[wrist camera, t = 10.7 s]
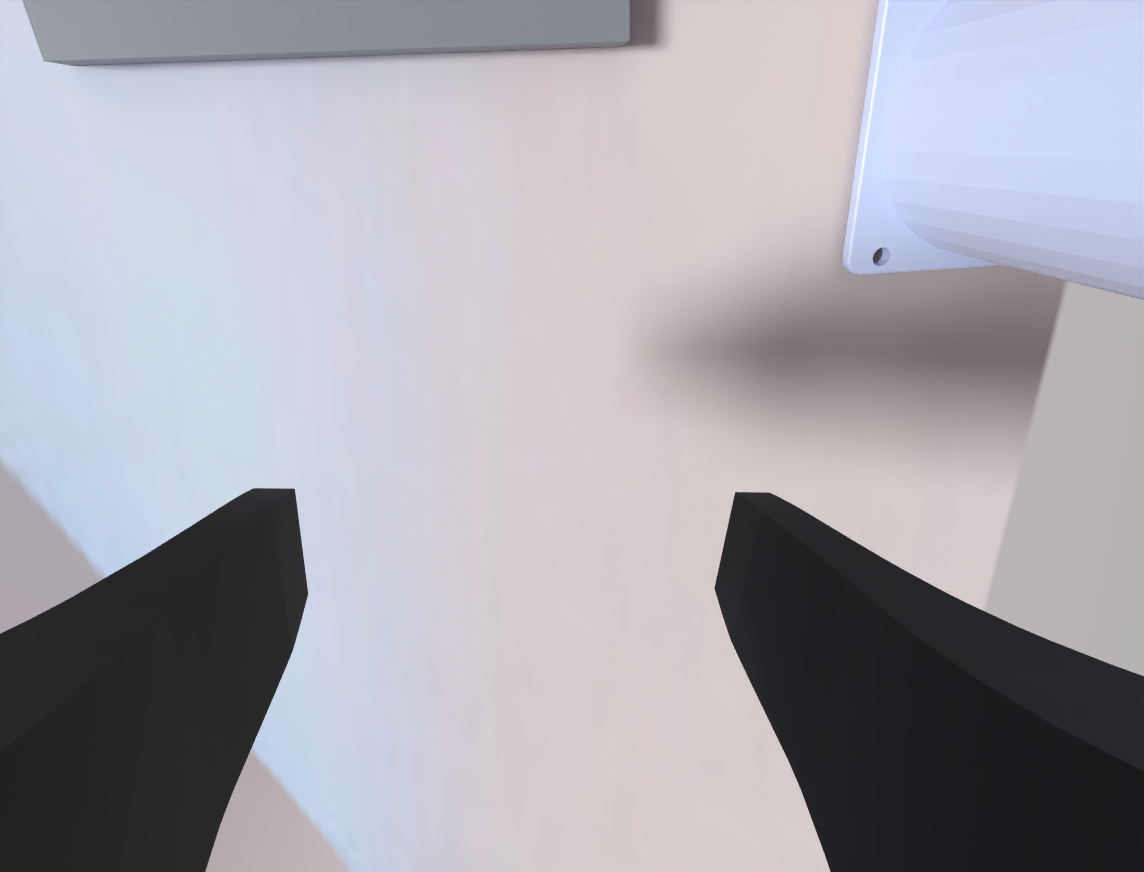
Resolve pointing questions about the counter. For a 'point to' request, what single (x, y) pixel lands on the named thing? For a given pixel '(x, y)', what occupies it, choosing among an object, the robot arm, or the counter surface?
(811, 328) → the counter surface
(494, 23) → the plate
